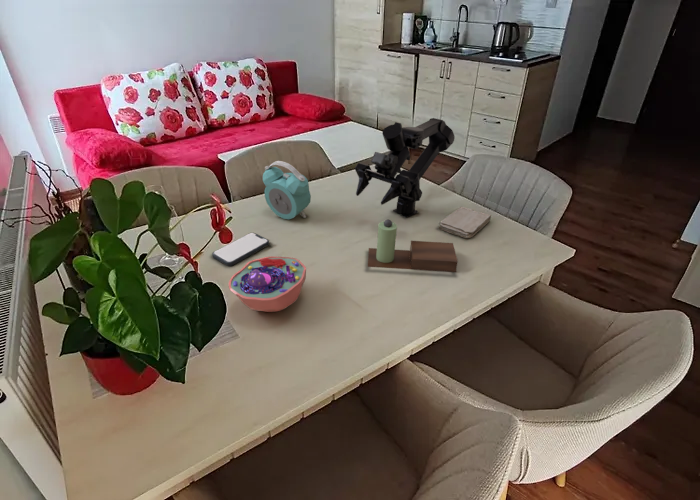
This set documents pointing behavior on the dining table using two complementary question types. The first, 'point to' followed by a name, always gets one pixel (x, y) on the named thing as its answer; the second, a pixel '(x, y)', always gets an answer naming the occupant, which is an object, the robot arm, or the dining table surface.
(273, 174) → the alarm clock
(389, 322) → the dining table surface
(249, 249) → the smartphone
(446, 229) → the washcloth
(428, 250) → the spice riser
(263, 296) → the cell model
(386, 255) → the pepper mill
